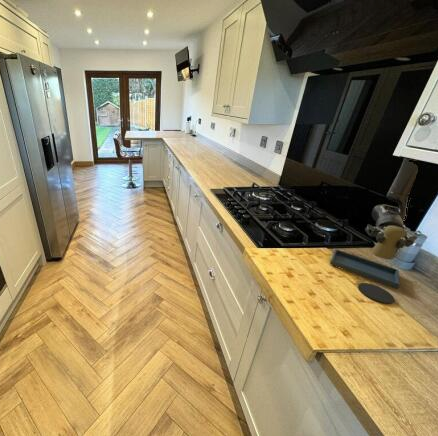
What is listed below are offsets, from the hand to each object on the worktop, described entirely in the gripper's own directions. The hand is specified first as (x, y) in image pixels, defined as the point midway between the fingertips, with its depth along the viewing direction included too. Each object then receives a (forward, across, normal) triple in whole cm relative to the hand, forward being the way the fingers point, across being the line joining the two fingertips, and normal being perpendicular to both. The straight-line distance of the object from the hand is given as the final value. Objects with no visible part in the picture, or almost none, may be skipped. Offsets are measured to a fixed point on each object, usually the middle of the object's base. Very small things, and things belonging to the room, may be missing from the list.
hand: (390, 243), depth 79 cm
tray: (-3, -3, +14) cm, 15 cm away
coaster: (+11, +1, +14) cm, 18 cm away
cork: (-3, 0, +6) cm, 7 cm away
